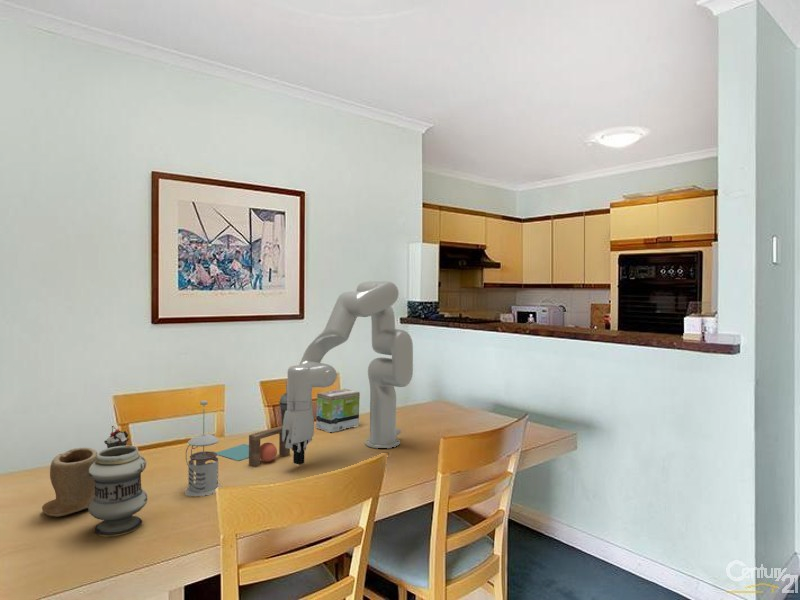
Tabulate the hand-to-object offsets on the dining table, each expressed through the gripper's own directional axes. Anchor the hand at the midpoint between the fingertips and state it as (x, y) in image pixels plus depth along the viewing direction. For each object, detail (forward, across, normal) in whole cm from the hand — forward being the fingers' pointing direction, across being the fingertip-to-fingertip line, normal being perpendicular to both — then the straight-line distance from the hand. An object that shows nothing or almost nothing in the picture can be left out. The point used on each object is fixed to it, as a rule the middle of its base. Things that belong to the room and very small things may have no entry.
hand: (298, 463), depth 160 cm
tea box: (+2, -44, -21) cm, 49 cm away
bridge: (+2, 0, -13) cm, 13 cm away
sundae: (+2, +35, -41) cm, 54 cm away
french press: (+2, +28, -10) cm, 30 cm away
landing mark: (+2, 0, -27) cm, 27 cm away
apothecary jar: (+2, +53, -6) cm, 53 cm away
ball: (-2, +1, -13) cm, 13 cm away
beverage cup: (+2, -28, -33) cm, 43 cm away
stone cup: (+2, +53, -24) cm, 58 cm away
